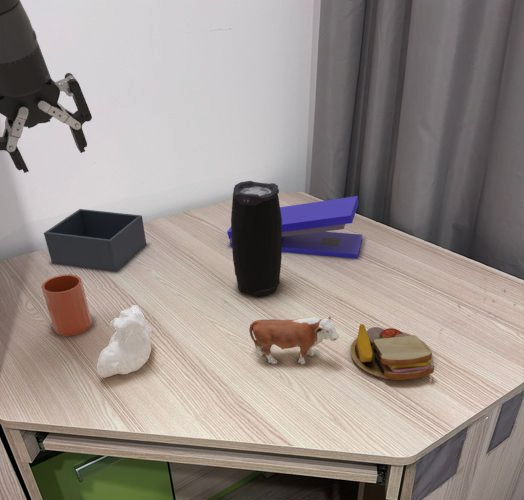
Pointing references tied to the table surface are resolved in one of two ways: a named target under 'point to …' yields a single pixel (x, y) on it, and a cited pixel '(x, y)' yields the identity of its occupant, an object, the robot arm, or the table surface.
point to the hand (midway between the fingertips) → (53, 159)
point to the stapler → (319, 228)
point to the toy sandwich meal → (391, 354)
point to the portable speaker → (256, 237)
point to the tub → (96, 240)
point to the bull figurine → (291, 335)
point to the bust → (126, 344)
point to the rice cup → (67, 304)
